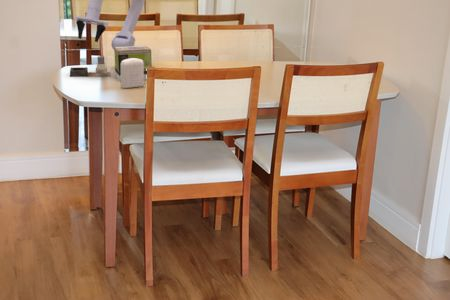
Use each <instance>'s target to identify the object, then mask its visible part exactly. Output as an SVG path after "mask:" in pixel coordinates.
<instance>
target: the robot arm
mask: <svg viewBox="0 0 450 300" xmlns="http://www.w3.org/2000/svg"><path fill="white" fill-rule="evenodd" d="M145 1H146V0H132V2H131V4H130V7H129V9H128V12H127V15H126V16H125V20H124V22H123V25H122V29H121V30H120V31H118V32H117V33H115V36H114V37H113V38H112V40H111V49H113V50H114V47H127V46H135V42H136V38H135V36H134V32H135V28H136V26H137V23H138V20H139V19H140V15H141V13H142V10H143V7H144V5H145ZM103 2H104V0H88V3H87V9H86V15H85V17H84V16H77V15H75V19H74V20H75V22H76V23H75V25H76V27H77V35H78V37H77V38H78V39H80V40H81V39H82V37H83V33H84V30H85V26H86V24H91V25H95V26H96V32H95V33H96V34H95V36H94V37H95V38H94V42H95V43H98V42H99V39H100V38H101V36H102V35H103V33H104V32H105V31H106V28H108V26H109V22H107V21H104V20H100V15H101V12H102V7H103Z"/></svg>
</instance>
